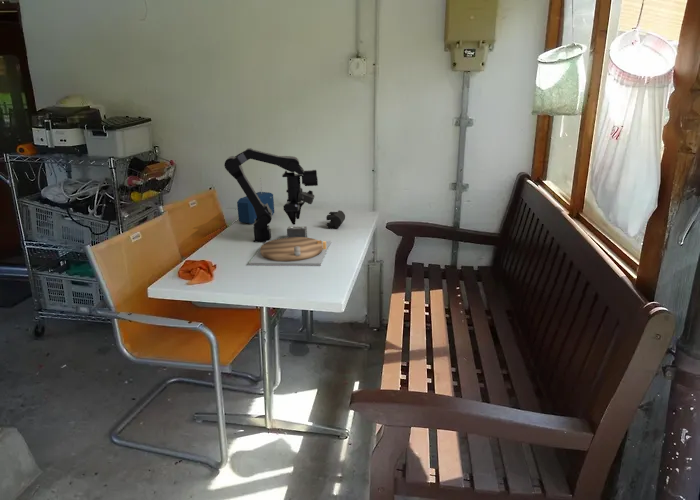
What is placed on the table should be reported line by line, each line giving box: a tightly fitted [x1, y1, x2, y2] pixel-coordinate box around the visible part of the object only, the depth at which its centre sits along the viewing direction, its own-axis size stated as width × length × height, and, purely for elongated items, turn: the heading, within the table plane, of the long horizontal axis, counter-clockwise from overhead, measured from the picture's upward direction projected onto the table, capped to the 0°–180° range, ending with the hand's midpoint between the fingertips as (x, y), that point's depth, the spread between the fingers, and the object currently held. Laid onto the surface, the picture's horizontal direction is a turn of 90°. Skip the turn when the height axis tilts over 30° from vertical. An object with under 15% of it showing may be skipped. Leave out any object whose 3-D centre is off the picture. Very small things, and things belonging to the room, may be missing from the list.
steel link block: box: [286, 225, 308, 238], centre depth 240 cm, size 8×4×5 cm, turn 84°
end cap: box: [325, 209, 346, 230], centre depth 256 cm, size 10×7×7 cm
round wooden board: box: [259, 237, 323, 261], centre depth 220 cm, size 25×25×5 cm
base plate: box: [248, 240, 332, 267], centre depth 220 cm, size 28×28×4 cm
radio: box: [236, 178, 275, 225], centre depth 271 cm, size 21×9×20 cm, turn 152°
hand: (296, 221), depth 238 cm, fingers open, 9 cm apart
